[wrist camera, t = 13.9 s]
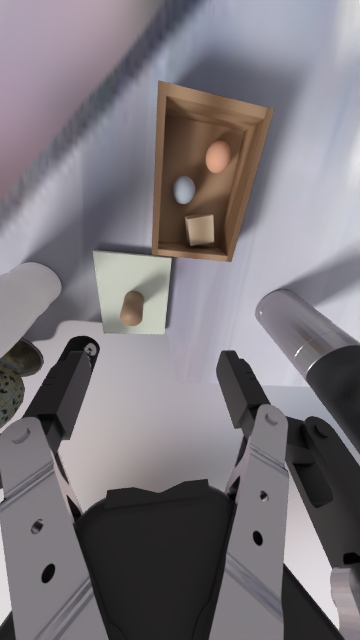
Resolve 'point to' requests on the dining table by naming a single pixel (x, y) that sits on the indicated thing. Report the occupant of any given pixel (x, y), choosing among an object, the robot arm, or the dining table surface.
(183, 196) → the ball slate
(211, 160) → the ball terracotta
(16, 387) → the lantern
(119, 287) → the lid
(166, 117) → the box
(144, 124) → the dining table surface
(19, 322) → the water bottle
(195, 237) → the maple cube
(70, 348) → the beverage can
